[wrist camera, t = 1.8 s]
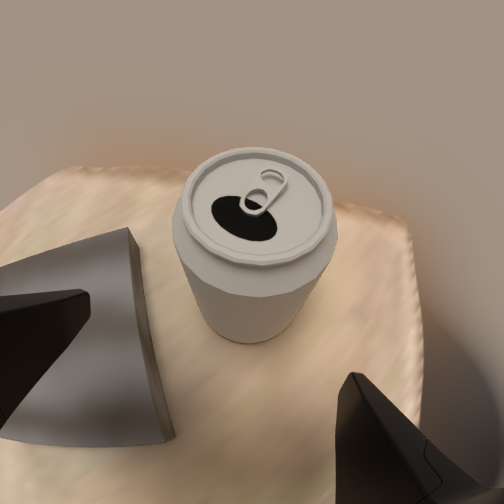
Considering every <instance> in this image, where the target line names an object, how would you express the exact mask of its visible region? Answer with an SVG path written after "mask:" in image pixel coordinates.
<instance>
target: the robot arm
mask: <svg viewBox="0 0 504 504" xmlns="http://www.w3.org/2000/svg"><path fill="white" fill-rule="evenodd" d="M90 316H91V302H90V294H89V293H88V292H87V291H85V290H83V289H70V290H60V291H50V292H40V293H29V294H18V295H6V296H0V430H1V429H2V427H3V426H4V425H5V423H6V422H7V420H8V419H9V418H10V416H11V415H12V414H13V412H14V411H15V410H16V408H17V407H18V406H19V405H20V403H21V402H22V401H23V400H24V398H25V397H26V396H27V395H28V393H29V392H30V391H31V390H32V388H33V387H34V386H35V385H36V384H37V382H38V381H39V380H40V379H41V378H42V376H43V375H44V374H45V373H46V372H47V371H48V369H49V368H50V367H51V366H52V365H53V364H54V362H55V361H56V360H57V359H58V358H59V357H60V356H61V355H62V353H63V352H64V351H65V350H66V349H67V348H68V347H69V345H70V344H71V343H72V341H73V340H74V339H75V337H76V336H77V334H78V333H79V332H80V330H81V329H82V328H83V326H84V325H85V324H86V322H87V321H88V320H89V318H90ZM335 452H336V500H335V504H504V488H493V487H488V486H485V485H483V484H481V483H480V482H478V481H477V480H476V479H474V478H473V477H472V476H470V475H469V474H468V473H467V472H465V471H464V470H463V469H461V468H460V467H459V466H458V465H457V464H455V463H454V462H453V461H452V460H451V459H449V458H448V457H447V456H446V455H444V454H443V452H441V451H440V450H439V449H438V448H437V447H436V446H435V445H434V444H433V443H432V442H431V441H430V440H429V439H427V437H426V436H425V435H424V434H423V433H422V432H421V431H420V430H419V429H418V428H417V427H416V426H415V425H414V424H413V423H412V422H411V421H410V420H409V419H408V418H407V417H406V416H405V415H404V414H403V413H402V412H401V411H400V410H399V409H398V408H397V407H396V406H395V405H394V404H393V403H392V402H391V401H390V400H389V399H388V398H387V397H386V396H385V395H384V394H383V393H382V392H381V391H380V390H379V389H378V388H377V387H376V386H375V385H374V384H373V383H372V382H371V381H370V380H369V379H368V378H367V377H366V376H365V375H364V374H362V373H356V372H351V373H349V375H348V376H347V378H346V380H345V382H344V384H343V385H342V387H341V389H340V391H339V394H338V405H337V419H336V431H335Z"/></svg>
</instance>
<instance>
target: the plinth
mask: <svg viewBox="0 0 504 504" xmlns="http://www.w3.org/2000/svg"><path fill="white" fill-rule="evenodd" d="M70 289H83V290H85V291H87V292H88V293H89V294H90V302H91V316H90V318H89V320H88V321H87V322H86V324H85V325H84V326H83V328H82V329H81V330H80V332H79V333H78V334H77V336H76V337H75V339H74V340H73V341H72V343H71V344H70V345H69V347H68V348H67V349H66V350H65V351H64V352H63V353H62V355H61V356H60V357H59V358H58V359H57V360H56V361H55V362H54V364H53V365H52V366H51V367H50V368H49V369H48V371H47V372H46V373H45V374H44V375H43V376H42V378H41V379H40V380H39V381H38V382H37V384H36V385H35V386H34V387H33V388H32V390H31V391H30V392H29V393H28V395H27V396H26V397H25V398H24V400H23V401H22V402H21V403H20V405H19V406H18V407H17V408H16V410H15V411H14V412H13V414H12V415H11V416H10V418H9V419H8V420H7V422H6V423H5V425H4V426H3V427H2V429H1V430H0V438H4V439H9V440H14V441H20V442H26V443H33V444H42V445H52V446H65V447H127V446H141V445H151V444H160V443H166V442H168V441H169V440H171V439H172V438H174V437H176V436H175V433H174V429H173V426H172V423H171V419H170V416H169V412H168V409H167V405H166V402H165V398H164V394H163V390H162V386H161V382H160V378H159V374H158V369H157V365H156V360H155V355H154V351H153V346H152V340H151V335H150V330H149V324H148V318H147V312H146V305H145V299H144V292H143V284H142V276H141V267H140V257H139V247H138V245H137V243H136V241H135V239H134V238H133V236H132V234H131V232H130V230H129V228H128V227H126V228H122V229H119V230H115V231H112V232H108V233H104V234H101V235H97V236H94V237H91V238H87V239H84V240H81V241H77V242H74V243H71V244H68V245H64V246H61V247H58V248H55V249H52V250H49V251H46V252H43V253H40V254H37V255H34V256H31V257H28V258H25V259H22V260H19V261H16V262H14V263H11V264H8V265H5V266H3V267H0V296H6V295H18V294H29V293H40V292H50V291H60V290H70Z"/></svg>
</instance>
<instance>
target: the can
mask: <svg viewBox="0 0 504 504" xmlns="http://www.w3.org/2000/svg"><path fill="white" fill-rule="evenodd" d="M172 233H173V242H174V245H175V247H176V250H177V253H178V255H179V258H180V261H181V263H182V266H183V269H184V271H185V274H186V276H187V279H188V281H189V284H190V286H191V289H192V291H193V294H194V296H195V299H196V301H197V304H198V306H199V308H200V310H201V312H202V314H203V316H204V318H205V320H206V322H207V324H208V325H209V326H210V327H211V328H212V329H214V330H215V331H216V332H217V333H218V334H219V335H221V336H223V337H225V338H227V339H229V340H231V341H234V342H241V343H249V344H251V343H257V342H262V341H267V340H269V339H271V338H272V337H274V336H276V335H278V334H280V333H281V332H282V331H283V330H284V329H285V328H286V327H287V326H288V324H289V323H290V322H291V321H292V320H293V318H294V317H295V315H296V314H297V312H298V311H299V309H300V308H301V306H302V305H303V303H304V302H305V300H306V299H307V297H308V295H309V294H310V292H311V291H312V289H313V288H314V286H315V285H316V283H317V281H318V280H319V278H320V277H321V275H322V273H323V272H324V270H325V269H326V267H327V265H328V264H329V262H330V260H331V258H332V255H333V252H334V249H335V246H336V243H337V240H338V234H337V219H336V216H335V213H334V211H333V200H332V196H331V193H330V192H329V189H328V187H327V185H326V183H325V181H324V180H323V179H322V178H321V177H320V176H319V174H318V173H317V172H316V171H315V170H314V169H313V168H312V167H311V166H309V165H308V164H306V163H305V162H303V161H301V160H300V159H298V158H297V157H295V156H293V155H290V154H288V153H284V152H282V151H278V150H275V149H269V148H261V147H246V148H237V149H232V150H229V151H226V152H223V153H220V154H217V155H214V156H213V157H211V158H210V159H208V160H207V161H205V162H203V163H202V164H200V165H199V166H198V167H197V168H196V169H195V170H194V171H193V173H192V174H191V175H190V176H189V177H188V178H187V180H186V183H185V185H184V188H183V191H182V193H181V196H180V198H179V199H178V202H177V205H176V208H175V211H174V214H173V216H172Z"/></svg>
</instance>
